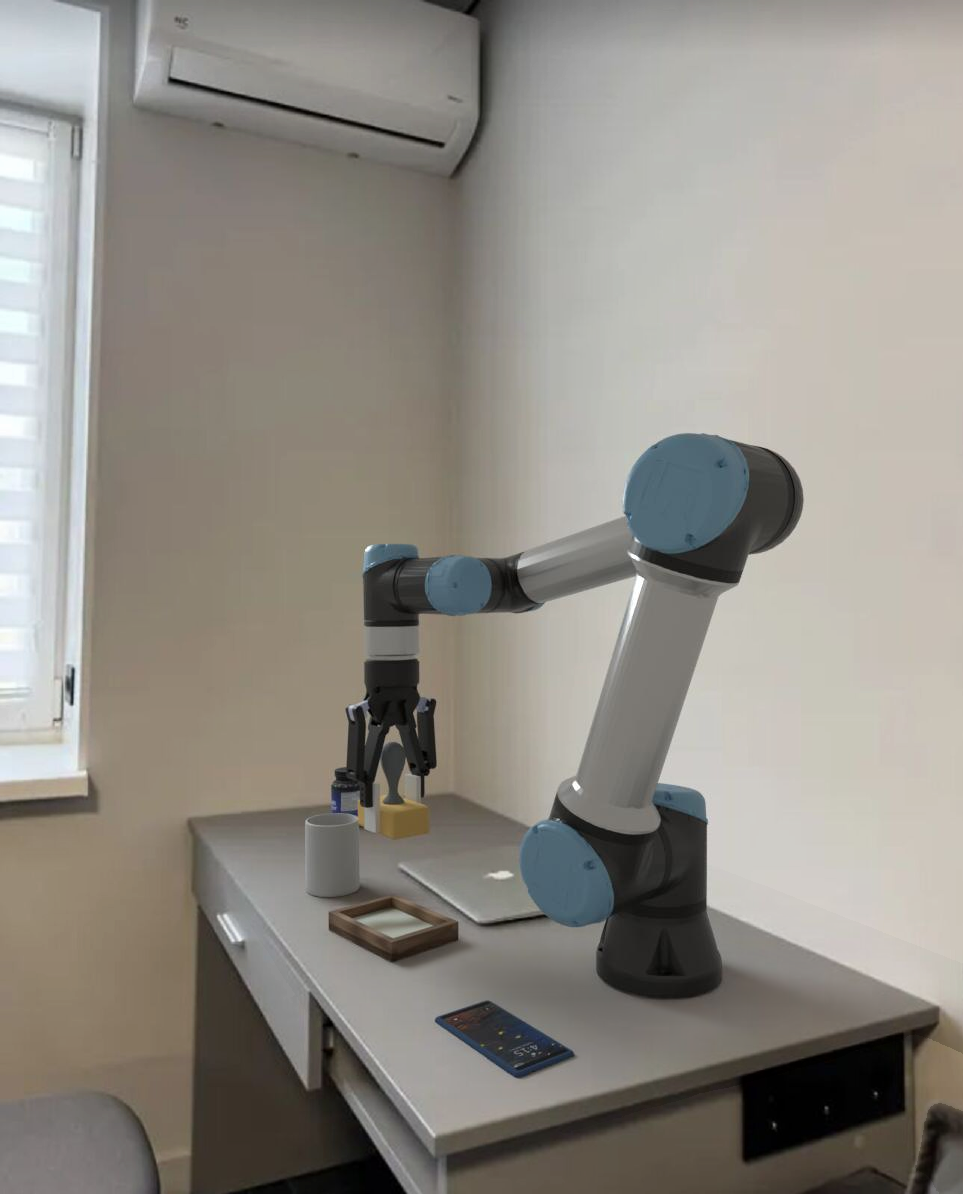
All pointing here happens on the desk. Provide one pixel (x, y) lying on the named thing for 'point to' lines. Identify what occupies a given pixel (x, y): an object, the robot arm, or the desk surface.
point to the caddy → (393, 927)
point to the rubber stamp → (397, 800)
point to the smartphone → (504, 1038)
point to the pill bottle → (344, 793)
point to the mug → (332, 855)
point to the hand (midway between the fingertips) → (393, 825)
